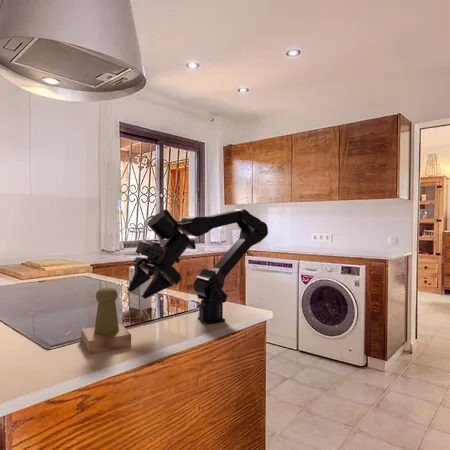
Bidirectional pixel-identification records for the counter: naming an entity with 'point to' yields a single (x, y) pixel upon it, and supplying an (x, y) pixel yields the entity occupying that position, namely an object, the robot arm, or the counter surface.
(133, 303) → the syrup box
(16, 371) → the counter surface
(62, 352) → the counter surface
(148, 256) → the robot arm
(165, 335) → the counter surface
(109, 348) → the plinth
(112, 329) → the olive pepper mill
